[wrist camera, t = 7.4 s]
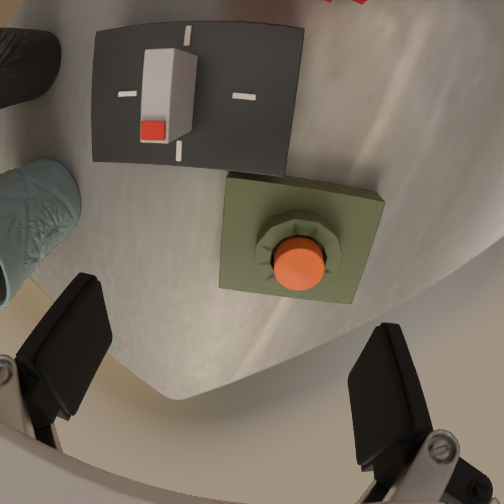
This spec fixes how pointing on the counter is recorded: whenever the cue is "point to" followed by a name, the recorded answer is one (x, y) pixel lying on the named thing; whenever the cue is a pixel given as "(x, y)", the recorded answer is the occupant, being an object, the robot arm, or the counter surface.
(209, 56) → the plate
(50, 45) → the travel mug
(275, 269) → the button
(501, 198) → the counter surface
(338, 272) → the button block
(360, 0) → the red coffee machine
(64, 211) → the teal embossed cup
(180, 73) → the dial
